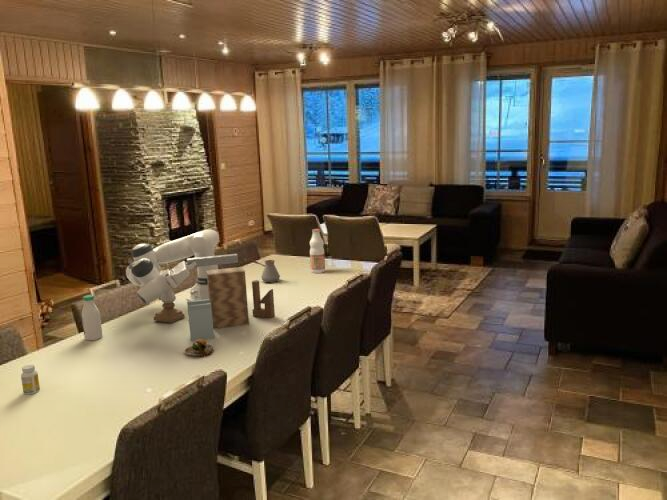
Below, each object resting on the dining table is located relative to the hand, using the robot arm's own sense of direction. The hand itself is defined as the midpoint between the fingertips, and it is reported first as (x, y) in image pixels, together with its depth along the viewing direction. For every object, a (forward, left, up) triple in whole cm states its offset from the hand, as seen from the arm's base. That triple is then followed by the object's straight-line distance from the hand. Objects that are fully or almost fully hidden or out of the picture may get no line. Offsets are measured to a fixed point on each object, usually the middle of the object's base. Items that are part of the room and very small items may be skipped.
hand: (195, 261), depth 262 cm
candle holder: (-24, -3, -32) cm, 40 cm away
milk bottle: (-29, -39, -32) cm, 58 cm away
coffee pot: (-44, +74, -32) cm, 91 cm away
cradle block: (+12, -8, -32) cm, 35 cm away
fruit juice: (-33, +111, -32) cm, 120 cm away
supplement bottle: (+10, -79, -32) cm, 86 cm away
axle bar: (+4, +7, -2) cm, 8 cm away
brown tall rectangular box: (+6, +12, -32) cm, 35 cm away
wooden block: (+11, +29, -32) cm, 45 cm away
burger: (+27, -19, -33) cm, 47 cm away
